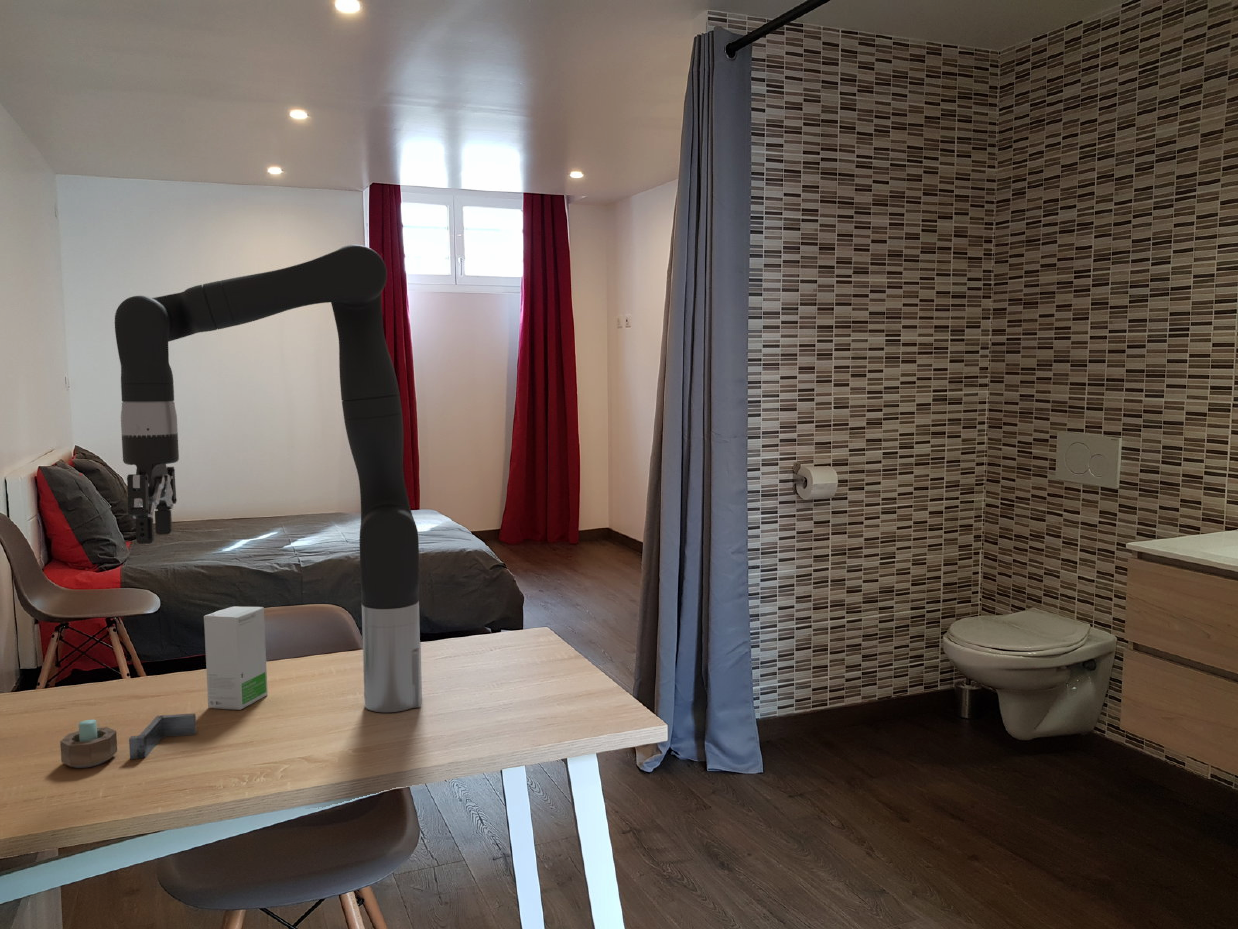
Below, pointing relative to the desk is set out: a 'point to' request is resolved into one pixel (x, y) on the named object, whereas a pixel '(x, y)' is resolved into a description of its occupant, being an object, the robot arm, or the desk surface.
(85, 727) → the teal flanged peg
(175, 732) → the bent rail
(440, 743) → the desk surface
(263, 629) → the skincare box
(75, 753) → the walnut ring
